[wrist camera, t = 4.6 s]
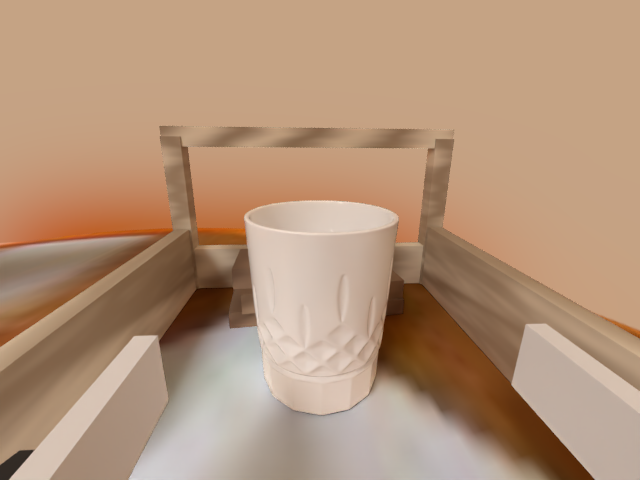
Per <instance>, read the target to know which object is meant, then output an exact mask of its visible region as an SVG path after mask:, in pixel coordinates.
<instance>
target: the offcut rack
mask: <svg viewBox="0 0 640 480" xmlns="http://www.w3.org/2000/svg"><path fill="white" fill-rule="evenodd" d="M160 134H161V136H160V141H161V148H162V155H163V162H164V169H165V177H166V184H167V191H168V197H169V205H170V212H171V219H172V225H173V231H172V232H171V233H169V234H168V235H166V236H165V237H163V238H162V239H160V240H159V241H157V242H156V243H154V244H153V245H151V246H150V247H148V248H147V249H145V250H144V251H142V252H141V253H140V254H138V255H137V256H135V257H134V258H132V259H131V260H129V261H128V262H126V263H125V264H123V265H122V266H120V267H119V268H117V269H116V270H114V271H113V272H111V273H110V274H108V275H107V276H105V277H104V278H102V279H101V280H99V281H98V282H96V283H95V284H93V285H92V286H91V287H89V288H88V289H86V290H85V291H83V292H82V293H80V294H79V295H77V296H76V297H74V298H73V299H71V300H70V301H68V302H67V303H65V304H64V305H62V306H61V307H59V308H58V309H56V310H55V311H53V312H52V313H50V314H49V315H47V316H46V317H44V318H43V319H42V320H40V321H39V322H37V323H36V324H34V325H33V326H31V327H30V328H28V329H27V330H25V331H24V332H22V333H21V334H19V335H18V336H16V337H15V338H13V339H12V340H10V341H9V342H7V343H6V344H4V345H3V346H1V347H0V465H1V464H2V463H3V462H5V461H6V460H7V459H9V458H10V457H11V456H13V455H14V454H15V453H17V452H18V451H19V450H35V449H36V448H37V447H38V446H39V445H40V444H41V442H42V441H43V440H44V439H45V438H46V437H47V436H48V434H49V433H50V432H51V431H52V430H53V429H54V428H55V426H56V425H57V424H58V423H59V422H60V421H61V420H62V418H63V417H64V416H65V415H66V414H67V413H68V411H69V410H70V409H71V408H72V407H73V406H74V405H75V403H76V402H77V401H78V400H79V399H80V398H81V397H82V395H83V394H84V393H85V392H86V391H87V390H88V389H89V387H90V386H91V385H92V384H93V383H94V382H95V381H96V379H97V378H98V377H99V376H100V375H101V374H102V373H103V371H104V370H105V369H106V368H107V367H108V366H109V364H110V363H111V362H112V361H113V360H114V359H115V358H116V356H117V355H118V354H119V353H120V352H121V351H122V350H123V348H124V347H125V346H126V345H127V344H128V343H129V342H130V340H131V339H132V338H133V337H134V336H152V335H158V340H159V341H160V339H161V338H162V336H163V335H164V334H165V332H166V331H167V329H168V328H169V327H170V325H171V324H172V322H173V321H174V320H175V318H176V317H177V315H178V314H179V313H180V311H181V310H182V308H183V307H184V306H185V304H186V303H187V301H188V300H189V299H190V297H191V296H192V294H193V293H194V292H195V290H196V289H199V288H227V287H233V282H232V267H233V265H234V263H235V260H236V258H237V256H238V254H239V251H240V249H248V247H247V245H199V240H198V232H197V223H196V214H195V206H194V197H193V189H192V180H191V172H190V164H189V154H188V147H314V148H315V147H316V148H318V147H319V148H321V147H322V148H324V147H325V148H428V154H427V163H426V172H425V181H424V190H423V200H422V209H421V218H420V228H419V237H418V242H407V243H406V242H405V243H395V251H394V259H393V266H392V270H393V271H394V272H395V273H396V274H398V275H399V276H400V277H401V278H402V279H403V280H404V283H419V284H422V285H423V286H424V287H425V288H426V289H427V290H428V291H429V292H430V294H431V295H432V296H433V297H434V298H435V299H436V300H437V301H438V302H439V304H440V305H441V306H442V307H443V308H444V309H445V310H446V311H447V313H448V314H449V315H450V316H451V317H452V318H453V319H454V320H455V321H456V323H457V324H458V325H459V326H460V327H461V328H462V329H463V330H464V331H465V333H466V334H467V335H468V336H469V337H470V338H471V339H472V340H473V341H474V343H475V344H476V345H477V346H478V347H479V348H480V349H481V350H482V351H483V353H484V354H485V355H486V356H487V357H488V358H489V359H490V360H491V361H492V363H493V364H494V365H495V366H496V367H497V368H498V369H499V370H500V371H501V373H502V374H503V375H504V376H505V377H506V378H507V379H508V380H509V381H510V383H511V384H512V380H513V375H514V371H515V367H516V363H517V359H518V355H519V350H520V346H521V342H522V338H523V334H524V330H525V325H526V324H545V323H546V324H547V325H548V326H550V327H551V328H553V329H554V330H555V331H557V332H558V333H560V334H561V335H562V336H564V337H565V338H566V339H568V340H569V341H571V342H572V343H573V344H575V345H576V346H578V347H579V348H580V349H582V350H583V351H585V352H586V353H587V354H589V355H590V356H591V357H593V358H594V359H596V360H597V361H598V362H600V363H601V364H603V365H604V366H605V367H607V368H608V369H610V370H611V371H612V372H614V373H615V374H616V375H618V376H619V377H621V378H622V379H623V380H625V381H626V382H628V383H629V384H630V385H632V386H633V387H635V388H636V389H637V390H639V391H640V339H639V338H637V337H635V336H634V335H632V334H630V333H628V332H627V331H625V330H623V329H621V328H619V327H618V326H616V325H614V324H612V323H611V322H609V321H607V320H605V319H603V318H602V317H600V316H598V315H596V314H595V313H593V312H591V311H589V310H588V309H586V308H584V307H582V306H580V305H578V304H577V303H575V302H573V301H571V300H570V299H568V298H566V297H564V296H563V295H561V294H559V293H557V292H556V291H554V290H552V289H550V288H548V287H547V286H545V285H543V284H541V283H539V282H538V281H536V280H534V279H532V278H531V277H529V276H527V275H525V274H524V273H522V272H520V271H518V270H516V269H515V268H513V267H511V266H509V265H508V264H506V263H504V262H502V261H501V260H499V259H497V258H495V257H493V256H492V255H490V254H488V253H486V252H485V251H483V250H481V249H479V248H477V247H476V246H474V245H472V244H470V243H469V242H467V241H465V240H463V239H461V238H460V237H458V236H456V235H454V234H452V233H451V232H449V231H447V230H446V229H444V228H442V227H443V220H444V212H445V204H446V197H447V189H448V181H449V174H450V166H451V159H452V151H453V144H454V139H453V135H454V130H441V129H440V130H439V129H433V130H432V129H357V128H276V127H194V126H160Z"/></svg>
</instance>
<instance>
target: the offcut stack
mask: <svg viewBox="0 0 640 480" xmlns="http://www.w3.org/2000/svg"><path fill="white" fill-rule="evenodd" d="M232 282H233V289H234V292H233V296H232V300H231V305H230V309H229V313H228V314H229V324H230V328H240V327H252V326H257V319H256V314H255V308H254V301H253V292H252V283H251V274H250V265H249V256H248V249H240V251H239V254H238V256H237V258H236V260H235V263H234V265H233V267H232ZM403 287H404V280H403V279H402V278H401V277H400V276H399V275H398V274H396V273H395V272H394V271H393V270H392V274H391V282H390V290H389V297H388V303H387V309H386V315H395V314H403V306H404V299H403Z"/></svg>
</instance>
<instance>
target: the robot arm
mask: <svg viewBox="0 0 640 480" xmlns="http://www.w3.org/2000/svg"><path fill="white" fill-rule="evenodd" d="M511 385H512V386H513V388H514V389H515V390H516V391H517V392H518V393H519V394H520V396H521V397H522V398H523V399H524V400H525V401H526V402H527V403H528V405H529V406H530V407H531V408H532V409H533V410H534V411H535V412H536V414H537V415H538V416H539V417H540V418H541V419H542V420H543V421H544V423H545V424H546V425H547V426H548V427H549V428H550V429H551V430H552V432H553V433H554V434H555V435H556V436H557V437H558V438H559V440H560V441H561V442H562V443H563V444H564V445H565V446H566V447H567V449H568V450H569V451H570V452H571V453H572V454H573V455H574V456H575V458H576V459H577V460H578V461H579V462H580V463H581V464H582V465H583V467H584V468H585V469H586V470H587V471H588V472H589V473H590V474H591V476H592V477H593V478H594V479H595V480H640V391H639V390H637V389H636V388H635V387H633V386H632V385H630V384H629V383H628V382H626V381H625V380H623V379H622V378H621V377H619V376H618V375H616V374H615V373H614V372H612V371H611V370H610V369H608V368H607V367H605V366H604V365H603V364H601V363H600V362H598V361H597V360H596V359H594V358H593V357H591V356H590V355H589V354H587V353H586V352H585V351H583V350H582V349H580V348H579V347H578V346H576V345H575V344H573V343H572V342H571V341H569V340H568V339H566V338H565V337H564V336H562V335H561V334H560V333H558V332H557V331H555V330H554V329H553V328H551V327H550V326H548V325H547V324H546V323H545V324H526V325H525V330H524V334H523V338H522V342H521V346H520V350H519V355H518V359H517V363H516V367H515V371H514V375H513V380H512V384H511ZM168 401H169V397H168V391H167V386H166V380H165V374H164V369H163V363H162V357H161V352H160V346H159V340H158V335H152V336H134V337H133V338H132V339H131V340H130V342H129V343H128V344H127V345H126V346H125V347H124V348H123V350H122V351H121V352H120V353H119V354H118V355H117V356H116V358H115V359H114V360H113V361H112V362H111V363H110V364H109V366H108V367H107V368H106V369H105V370H104V371H103V373H102V374H101V375H100V376H99V377H98V378H97V379H96V381H95V382H94V383H93V384H92V385H91V386H90V387H89V389H88V390H87V391H86V392H85V393H84V394H83V395H82V397H81V398H80V399H79V400H78V401H77V402H76V403H75V405H74V406H73V407H72V408H71V409H70V410H69V411H68V413H67V414H66V415H65V416H64V417H63V418H62V420H61V421H60V422H59V423H58V424H57V425H56V426H55V428H54V429H53V430H52V431H51V432H50V433H49V434H48V436H47V437H46V438H45V439H44V440H43V441H42V442H41V444H40V445H39V446H38V447H37V448H36V449H35V450H19V451H18V452H17V453H15V454H14V455H13V456H11V457H10V458H9V459H7V460H6V461H5V462H3V463H2V464H1V465H0V480H128V479H129V477H130V475H131V473H132V471H133V469H134V467H135V465H136V463H137V461H138V459H139V457H140V455H141V453H142V451H143V450H144V448H145V446H146V444H147V442H148V440H149V438H150V436H151V434H152V432H153V430H154V428H155V426H156V424H157V422H158V420H159V418H160V417H161V415H162V413H163V411H164V409H165V407H166V405H167V403H168Z"/></svg>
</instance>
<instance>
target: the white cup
mask: <svg viewBox="0 0 640 480" xmlns="http://www.w3.org/2000/svg"><path fill="white" fill-rule="evenodd" d="M244 222H245V230H246V239H247V247H248V256H249V265H250V274H251V283H252V292H253V301H254V308H255V314H256V319H257V331H258V336H259V341H260V345H261V349H262V359H263V369H264V377H265V380H266V382H267V384H268V386H269V389H270V391H271V393H272V395H273V397H275V398H276V399H278V400H279V401H281V402H282V403H283V404H285V405H286V406H288V407H289V408H291V409H292V410H294V411H300V412H305V413H311V414H317V415H326V414H331V413H335V412H340V411H344V410H349V409H350V408H352V407H353V406H354V405H356V404H357V403H358V402H360V401H361V400H362V399H364V398H365V397H366V396H368V394H369V392H370V389H371V387H372V384H373V381H374V379H375V376H376V368H377V360H378V352H379V348H380V345H381V341H382V335H383V328H384V320H385V315H386V309H387V303H388V297H389V290H390V282H391V274H392V266H393V259H394V251H395V243H396V235H397V229H398V222H399V217H398V216H397V215H396V214H395V213H394V212H392V211H390V210H388V209H385V208H382V207H378V206H374V205H369V204H363V203H355V202H344V201H321V200H320V201H319V200H318V201H317V200H316V201H293V202H283V203H275V204H270V205H265V206H261V207H258V208H255V209H253V210H250V211H249V212H248V213H246V214H245V216H244Z"/></svg>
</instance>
